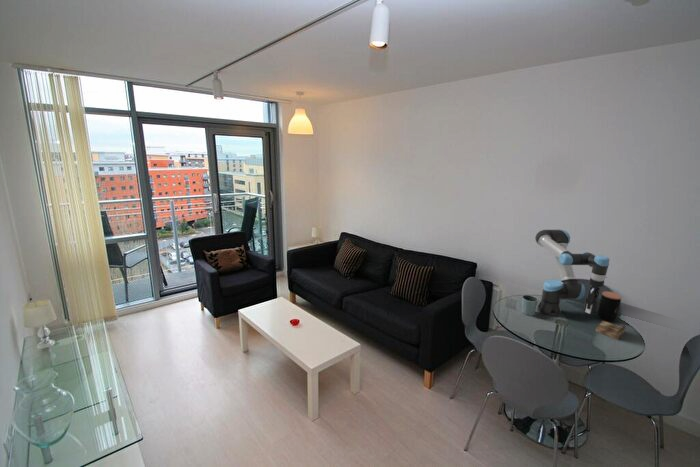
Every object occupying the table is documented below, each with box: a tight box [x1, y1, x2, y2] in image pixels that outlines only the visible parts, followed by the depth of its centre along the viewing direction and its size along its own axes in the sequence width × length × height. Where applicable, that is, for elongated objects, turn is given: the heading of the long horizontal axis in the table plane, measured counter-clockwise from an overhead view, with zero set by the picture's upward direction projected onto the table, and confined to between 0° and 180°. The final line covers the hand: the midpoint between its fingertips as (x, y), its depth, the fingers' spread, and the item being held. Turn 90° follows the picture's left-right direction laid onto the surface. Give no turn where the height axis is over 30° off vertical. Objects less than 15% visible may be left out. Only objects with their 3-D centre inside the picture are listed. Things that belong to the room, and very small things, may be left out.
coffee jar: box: [596, 290, 622, 322], centre depth 225 cm, size 11×11×18 cm
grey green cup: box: [521, 294, 539, 317], centre depth 233 cm, size 10×10×12 cm
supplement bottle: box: [583, 295, 600, 315], centre depth 211 cm, size 7×7×12 cm
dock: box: [595, 320, 626, 341], centre depth 210 cm, size 12×13×5 cm
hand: (589, 310), depth 213 cm, fingers closed on supplement bottle, 7 cm apart
